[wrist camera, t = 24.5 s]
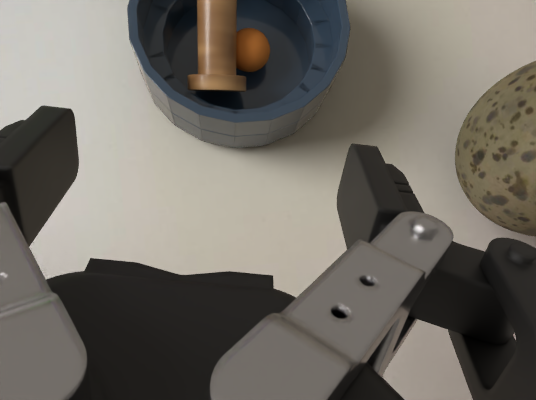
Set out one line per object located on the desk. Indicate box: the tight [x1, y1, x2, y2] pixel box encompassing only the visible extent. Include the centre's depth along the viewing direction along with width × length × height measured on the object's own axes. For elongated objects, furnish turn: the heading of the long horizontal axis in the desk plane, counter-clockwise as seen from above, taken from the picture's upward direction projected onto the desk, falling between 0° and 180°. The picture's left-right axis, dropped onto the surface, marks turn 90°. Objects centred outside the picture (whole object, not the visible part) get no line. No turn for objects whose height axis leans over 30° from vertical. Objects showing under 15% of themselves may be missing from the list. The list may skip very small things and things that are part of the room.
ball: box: [236, 28, 270, 72], centre depth 33 cm, size 3×3×3 cm
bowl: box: [127, 0, 350, 148], centre depth 32 cm, size 14×14×6 cm
